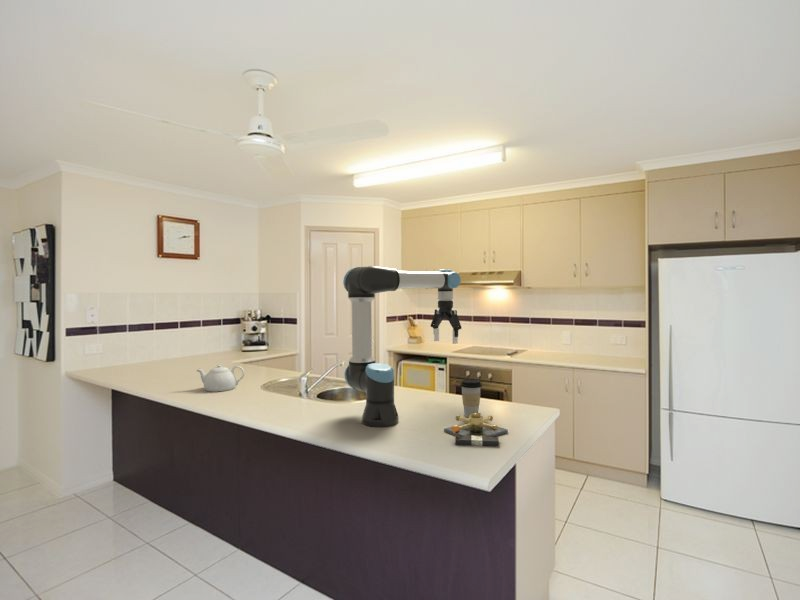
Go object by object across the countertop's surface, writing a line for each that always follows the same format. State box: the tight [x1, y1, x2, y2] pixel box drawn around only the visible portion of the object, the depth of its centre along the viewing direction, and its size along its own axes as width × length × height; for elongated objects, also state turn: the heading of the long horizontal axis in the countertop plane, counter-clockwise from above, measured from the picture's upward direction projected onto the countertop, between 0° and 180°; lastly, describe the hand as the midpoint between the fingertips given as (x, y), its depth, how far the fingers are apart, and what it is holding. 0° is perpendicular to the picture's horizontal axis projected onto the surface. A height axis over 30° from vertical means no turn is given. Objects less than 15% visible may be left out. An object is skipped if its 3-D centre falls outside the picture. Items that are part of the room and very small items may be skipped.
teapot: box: [196, 364, 245, 393], centre depth 249 cm, size 19×18×14 cm
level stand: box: [443, 422, 509, 447], centre depth 165 cm, size 25×24×2 cm
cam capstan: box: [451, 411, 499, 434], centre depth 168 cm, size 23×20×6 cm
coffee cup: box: [459, 378, 483, 418], centre depth 193 cm, size 9×9×15 cm
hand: (445, 342), depth 224 cm, fingers open, 13 cm apart
